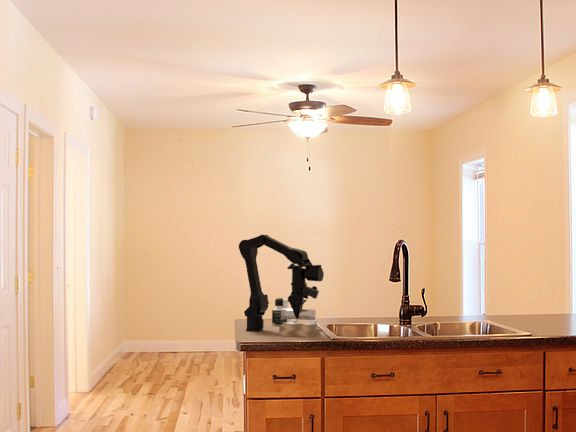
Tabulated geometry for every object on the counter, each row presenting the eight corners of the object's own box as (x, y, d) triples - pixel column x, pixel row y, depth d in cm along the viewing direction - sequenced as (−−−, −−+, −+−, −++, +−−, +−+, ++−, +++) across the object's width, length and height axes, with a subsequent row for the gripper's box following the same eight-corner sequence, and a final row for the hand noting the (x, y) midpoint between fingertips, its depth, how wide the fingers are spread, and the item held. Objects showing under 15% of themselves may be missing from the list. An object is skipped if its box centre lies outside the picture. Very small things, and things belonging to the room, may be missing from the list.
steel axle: (280, 319, 285) (281, 308, 285) (282, 318, 289) (282, 307, 289) (314, 320, 283) (314, 310, 283) (315, 319, 287) (315, 309, 287)
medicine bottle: (271, 325, 313) (272, 298, 313) (275, 323, 320) (276, 297, 320) (286, 325, 311) (287, 299, 312) (290, 323, 318) (290, 298, 319)
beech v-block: (279, 335, 281) (279, 325, 282) (283, 331, 292) (283, 322, 292) (313, 336, 279) (313, 326, 279) (316, 332, 290) (316, 323, 290)
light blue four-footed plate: (285, 331, 293) (285, 322, 293) (289, 328, 304) (289, 319, 304) (315, 332, 291) (315, 323, 291) (318, 329, 302) (318, 320, 302)
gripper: (315, 282, 276) (314, 321, 275) (320, 279, 294) (319, 315, 294) (287, 281, 278) (287, 320, 277) (294, 278, 296) (294, 314, 296)
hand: (298, 317), depth 286 cm, fingers closed on steel axle, 4 cm apart
